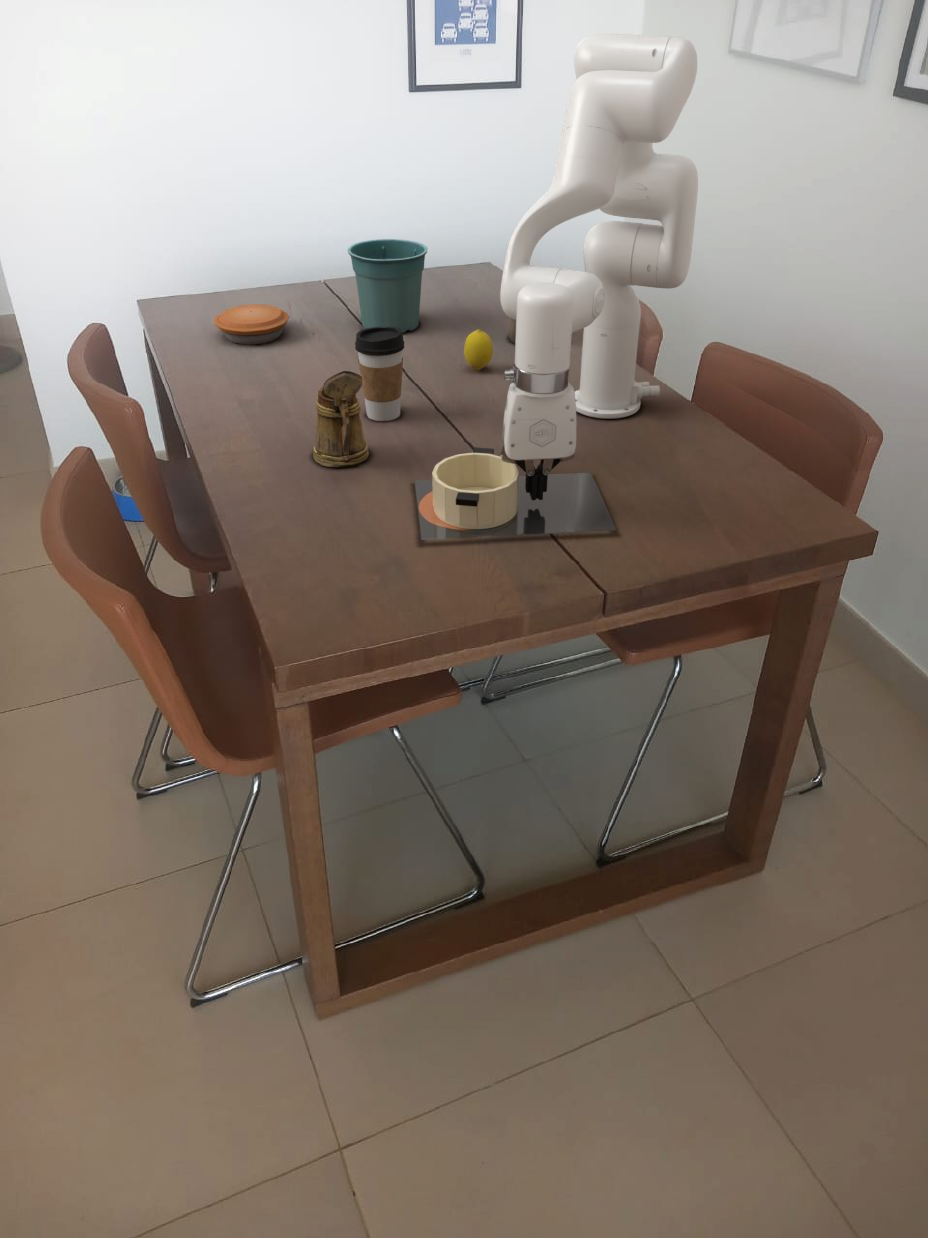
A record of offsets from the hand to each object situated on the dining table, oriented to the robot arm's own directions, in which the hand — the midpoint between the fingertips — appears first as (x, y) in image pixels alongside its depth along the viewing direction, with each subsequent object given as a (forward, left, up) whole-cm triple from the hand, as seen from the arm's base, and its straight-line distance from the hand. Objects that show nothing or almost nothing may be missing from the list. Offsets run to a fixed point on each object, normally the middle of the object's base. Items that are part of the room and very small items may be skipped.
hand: (535, 495), depth 148 cm
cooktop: (+4, -1, -2) cm, 4 cm away
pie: (+48, -80, -3) cm, 93 cm away
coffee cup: (+22, -37, -3) cm, 43 cm away
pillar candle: (-10, -72, -3) cm, 72 cm away
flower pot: (+19, -83, -3) cm, 85 cm away
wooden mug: (+29, -19, -3) cm, 34 cm away
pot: (+9, 0, -2) cm, 9 cm away
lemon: (+3, -56, -3) cm, 56 cm away
